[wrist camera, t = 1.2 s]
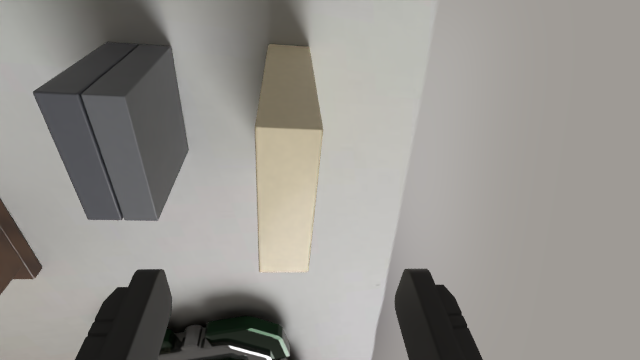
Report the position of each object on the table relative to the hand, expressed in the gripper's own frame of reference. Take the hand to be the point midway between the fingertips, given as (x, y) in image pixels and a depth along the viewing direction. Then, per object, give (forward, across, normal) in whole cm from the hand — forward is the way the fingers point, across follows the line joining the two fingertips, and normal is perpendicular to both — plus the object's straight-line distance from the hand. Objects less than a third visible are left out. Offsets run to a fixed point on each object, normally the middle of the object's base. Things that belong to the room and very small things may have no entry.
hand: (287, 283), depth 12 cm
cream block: (+14, 0, 0) cm, 14 cm away
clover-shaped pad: (+14, +7, +32) cm, 35 cm away
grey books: (+14, +8, 0) cm, 16 cm away
